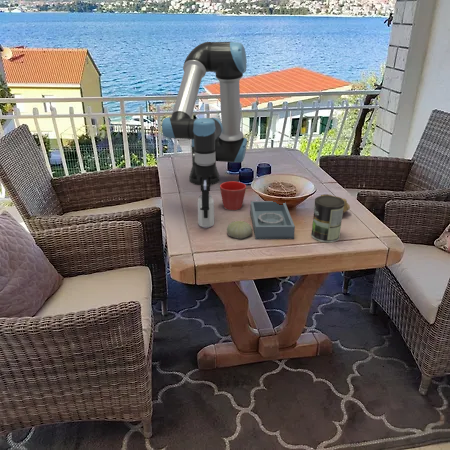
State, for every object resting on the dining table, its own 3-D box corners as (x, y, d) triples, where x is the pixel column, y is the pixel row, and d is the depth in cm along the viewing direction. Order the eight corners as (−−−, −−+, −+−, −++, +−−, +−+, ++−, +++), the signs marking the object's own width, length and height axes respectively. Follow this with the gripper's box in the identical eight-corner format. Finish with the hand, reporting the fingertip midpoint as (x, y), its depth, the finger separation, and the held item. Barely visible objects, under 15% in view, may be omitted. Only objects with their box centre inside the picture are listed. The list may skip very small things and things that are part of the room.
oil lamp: (324, 203, 177) (326, 186, 174) (354, 214, 167) (357, 196, 164) (308, 209, 171) (310, 192, 168) (339, 221, 161) (341, 202, 157)
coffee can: (312, 242, 145) (316, 205, 139) (310, 229, 154) (313, 194, 148) (341, 243, 144) (346, 207, 138) (337, 230, 153) (342, 196, 147)
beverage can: (196, 228, 155) (195, 198, 150) (200, 221, 161) (199, 192, 155) (212, 229, 154) (212, 200, 149) (215, 222, 160) (215, 194, 154)
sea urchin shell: (226, 223, 155) (241, 210, 151) (240, 237, 156) (256, 225, 153) (222, 234, 146) (238, 221, 143) (237, 249, 148) (253, 236, 145)
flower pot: (243, 212, 168) (243, 190, 164) (217, 210, 170) (217, 189, 166) (247, 203, 177) (247, 182, 173) (222, 201, 179) (222, 180, 175)
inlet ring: (256, 217, 162) (256, 212, 161) (281, 217, 162) (281, 212, 161) (259, 227, 153) (259, 223, 152) (285, 227, 153) (285, 222, 152)
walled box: (250, 212, 168) (250, 201, 166) (283, 212, 169) (284, 201, 167) (255, 239, 147) (255, 226, 145) (293, 238, 147) (294, 226, 145)
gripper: (195, 155, 155) (197, 210, 165) (193, 171, 138) (195, 232, 148) (215, 155, 155) (215, 210, 165) (215, 171, 138) (215, 231, 148)
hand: (206, 220), depth 156 cm, fingers closed on beverage can, 6 cm apart
